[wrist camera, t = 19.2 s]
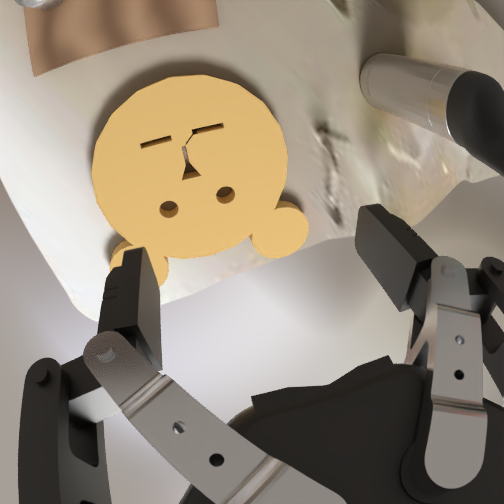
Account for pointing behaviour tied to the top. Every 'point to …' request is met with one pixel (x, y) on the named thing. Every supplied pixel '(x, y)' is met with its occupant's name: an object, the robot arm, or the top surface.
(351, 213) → the top surface
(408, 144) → the top surface
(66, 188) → the top surface
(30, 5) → the tin
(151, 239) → the decorative plaque
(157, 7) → the board
